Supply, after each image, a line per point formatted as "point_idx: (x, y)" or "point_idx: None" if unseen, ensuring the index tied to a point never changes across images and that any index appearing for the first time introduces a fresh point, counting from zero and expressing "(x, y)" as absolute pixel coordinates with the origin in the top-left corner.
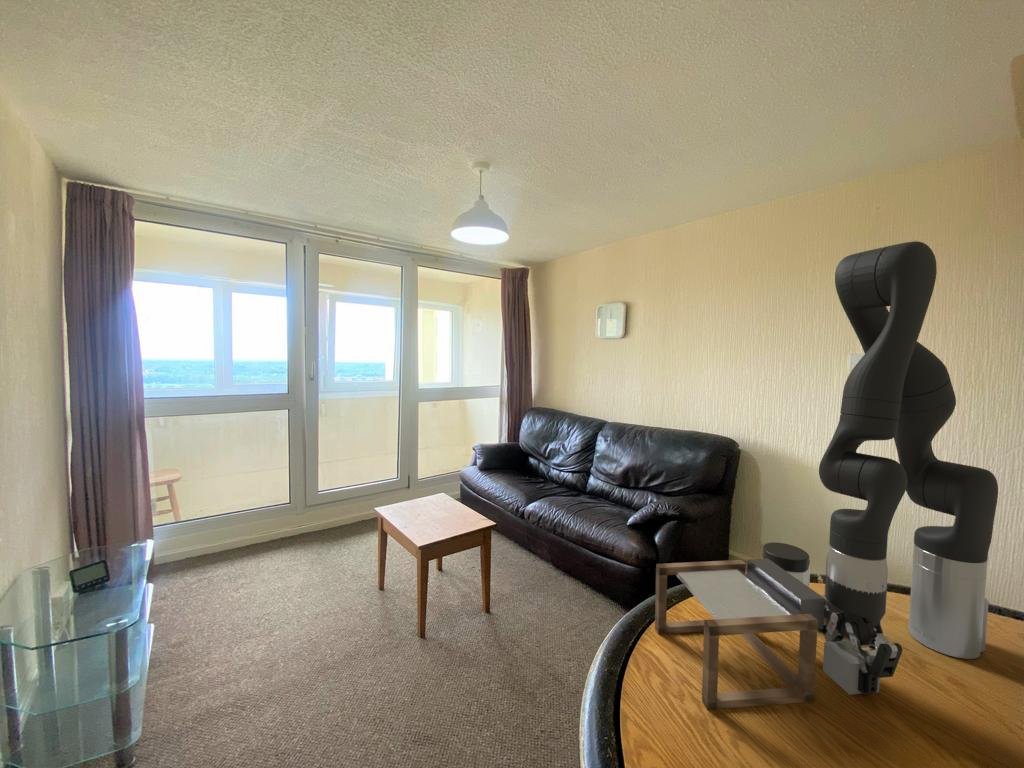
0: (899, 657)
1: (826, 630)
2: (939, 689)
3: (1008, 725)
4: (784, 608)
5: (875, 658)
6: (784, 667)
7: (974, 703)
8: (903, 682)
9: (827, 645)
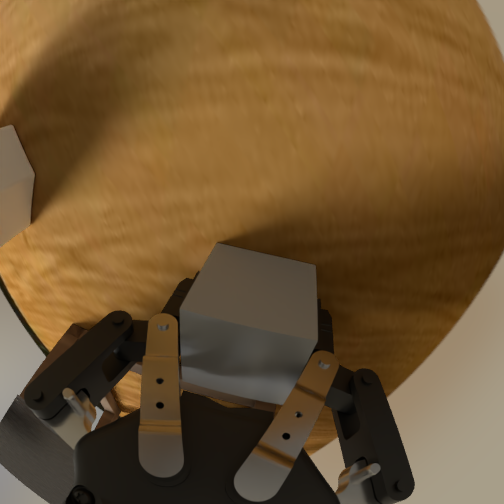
0: (404, 454)
1: (140, 360)
2: (376, 60)
3: (501, 73)
4: None
5: (344, 453)
6: (203, 389)
7: (441, 41)
8: (315, 140)
9: (195, 383)
